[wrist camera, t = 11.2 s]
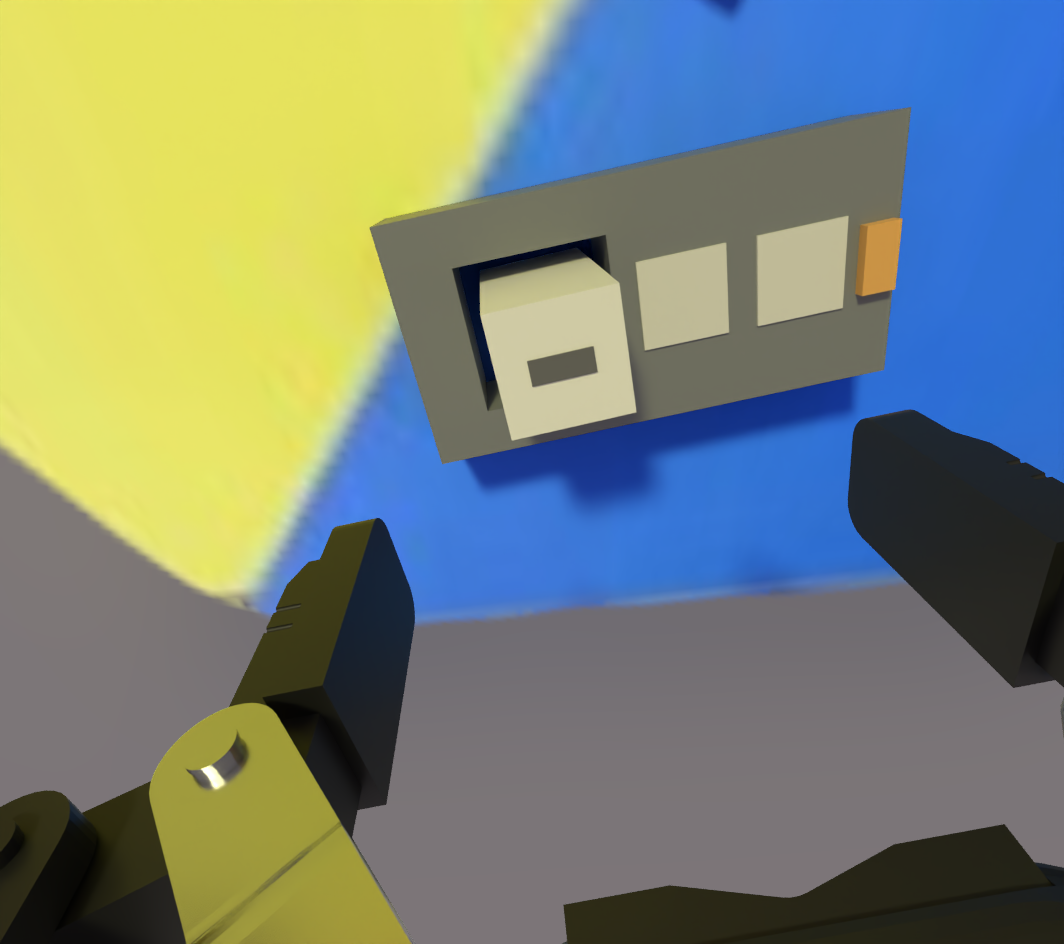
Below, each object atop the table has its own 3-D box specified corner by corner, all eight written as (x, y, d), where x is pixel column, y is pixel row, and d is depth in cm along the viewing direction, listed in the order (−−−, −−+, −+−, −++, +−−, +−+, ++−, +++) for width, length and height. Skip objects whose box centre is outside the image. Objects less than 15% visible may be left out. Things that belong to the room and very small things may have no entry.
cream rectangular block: (576, 247, 23) (619, 283, 16) (592, 343, 25) (636, 412, 18) (479, 270, 23) (480, 315, 16) (502, 364, 25) (511, 441, 18)
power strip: (849, 115, 22) (920, 106, 18) (835, 345, 26) (891, 373, 22) (384, 218, 22) (367, 228, 19) (446, 429, 26) (441, 469, 23)
